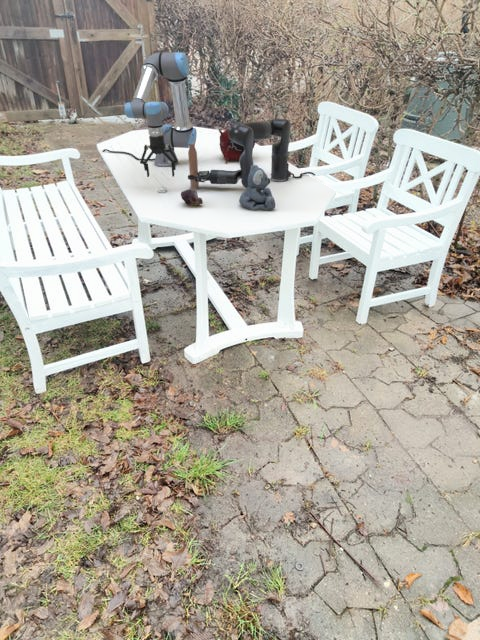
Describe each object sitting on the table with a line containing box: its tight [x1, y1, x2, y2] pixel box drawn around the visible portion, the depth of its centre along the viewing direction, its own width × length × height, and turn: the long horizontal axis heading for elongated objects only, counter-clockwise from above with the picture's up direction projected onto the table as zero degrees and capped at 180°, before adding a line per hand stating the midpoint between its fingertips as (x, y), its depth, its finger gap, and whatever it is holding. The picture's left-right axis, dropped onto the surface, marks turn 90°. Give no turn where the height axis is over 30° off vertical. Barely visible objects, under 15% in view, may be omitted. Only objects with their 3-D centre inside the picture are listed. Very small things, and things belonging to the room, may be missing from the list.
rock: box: [180, 188, 204, 207], centre depth 229 cm, size 12×9×10 cm
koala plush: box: [238, 164, 276, 211], centre depth 224 cm, size 17×18×20 cm
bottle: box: [187, 143, 200, 190], centre depth 247 cm, size 5×5×24 cm
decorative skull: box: [218, 128, 256, 164], centre depth 298 cm, size 21×24×25 cm
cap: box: [157, 186, 167, 194], centre depth 249 cm, size 4×4×2 cm
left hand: (160, 176), depth 245 cm, fingers open, 13 cm apart
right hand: (189, 175), depth 250 cm, fingers closed on bottle, 4 cm apart
